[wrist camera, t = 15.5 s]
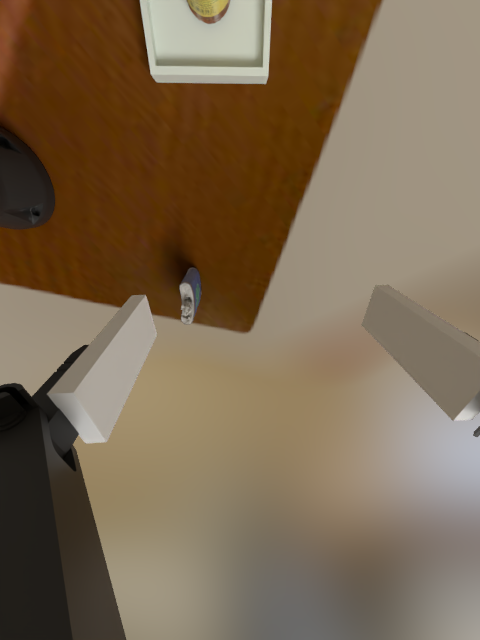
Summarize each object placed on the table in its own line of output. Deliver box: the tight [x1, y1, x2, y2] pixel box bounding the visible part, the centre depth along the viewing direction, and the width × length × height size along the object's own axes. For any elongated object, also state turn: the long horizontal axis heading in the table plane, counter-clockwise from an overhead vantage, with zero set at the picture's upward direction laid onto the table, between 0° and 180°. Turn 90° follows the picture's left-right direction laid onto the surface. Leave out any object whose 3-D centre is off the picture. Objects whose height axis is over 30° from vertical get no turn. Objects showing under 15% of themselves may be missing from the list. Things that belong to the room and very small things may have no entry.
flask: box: [179, 267, 201, 324], centre depth 43 cm, size 9×3×11 cm, turn 175°
